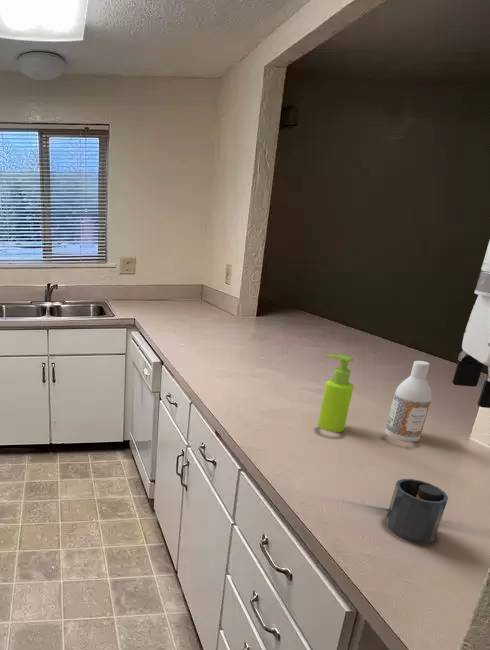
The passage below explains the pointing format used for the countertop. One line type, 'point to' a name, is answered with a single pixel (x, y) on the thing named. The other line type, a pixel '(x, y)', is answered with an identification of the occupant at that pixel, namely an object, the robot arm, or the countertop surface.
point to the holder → (414, 512)
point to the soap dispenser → (336, 397)
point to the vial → (428, 493)
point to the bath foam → (410, 405)
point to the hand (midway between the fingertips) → (476, 395)
